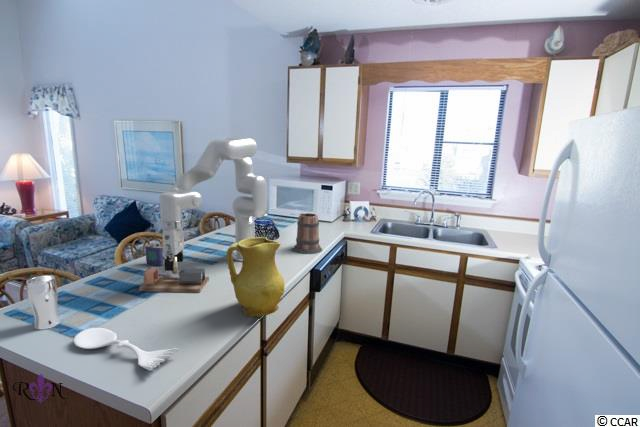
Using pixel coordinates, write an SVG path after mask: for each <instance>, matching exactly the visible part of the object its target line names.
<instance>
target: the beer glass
mask: <svg viewBox="0 0 640 427" xmlns="http://www.w3.org/2000/svg"><path fill="white" fill-rule="evenodd" d="M25 282H26V296H27V300H28V303H29V306H30V309H31V310H32V313H33V316H34V324H33V325H34V329H35V330H38V331H42V330H48V329H51V328H54V327H56V326H58V325H59V324H60V322H61V320H60V318H59V314H58V297H59V295H58V292H59V291H58V287H57V286H58V285H57V281H56V279H55V276H54V275H53V274H46V275H38V276H33V277H32V278H30V279H27V280H26V281H25Z"/></svg>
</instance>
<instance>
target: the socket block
mask: <svg viewBox="0 0 640 427" xmlns="http://www.w3.org/2000/svg"><path fill="white" fill-rule="evenodd" d="M159 276H160V275H159V267H148V268H147V269H145V270H144V271H143V284H154V283H155V282H156V281H157V280H159Z"/></svg>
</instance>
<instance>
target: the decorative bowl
mask: <svg viewBox="0 0 640 427" xmlns="http://www.w3.org/2000/svg"><path fill="white" fill-rule="evenodd" d="M255 218H256V219H254V223H255V237H266V238H267V239H268V240H272V241H276V240H277V239H279V238H280V237H281V236H280V231H279V228H277V226H276V225H275V222H274V221H273V220H272V219H271V217H270V216H268V214H267V213H266V214H265V215H264V216H263V217H260V218H257V217H255ZM263 233H265V234H263Z"/></svg>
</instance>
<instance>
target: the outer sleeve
mask: <svg viewBox="0 0 640 427" xmlns="http://www.w3.org/2000/svg"><path fill="white" fill-rule="evenodd" d="M178 272H179V283H180V285H202V284H203V282H204V281H205V277H206V268H197V267H196V268H195V267H194V268H193V267H190V268H189V267H183V268H182V269H181V270H180V271H178ZM202 273H203V279H202V275H201V274H202Z"/></svg>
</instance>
